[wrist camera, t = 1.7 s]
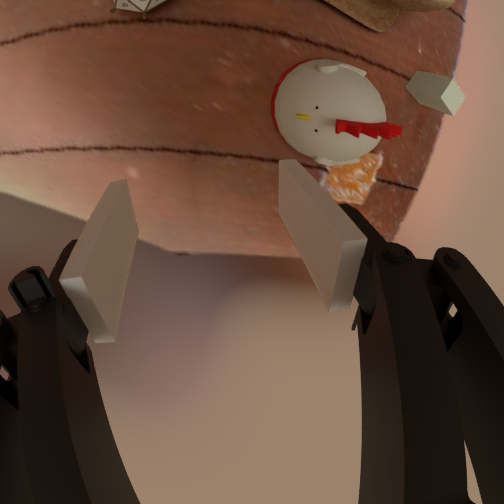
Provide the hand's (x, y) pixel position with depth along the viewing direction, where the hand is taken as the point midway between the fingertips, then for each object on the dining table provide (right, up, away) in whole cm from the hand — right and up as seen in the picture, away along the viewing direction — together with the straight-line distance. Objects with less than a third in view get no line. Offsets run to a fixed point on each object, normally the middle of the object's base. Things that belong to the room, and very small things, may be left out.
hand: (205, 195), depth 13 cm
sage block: (+28, +23, +21) cm, 42 cm away
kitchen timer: (+11, +17, +22) cm, 30 cm away
